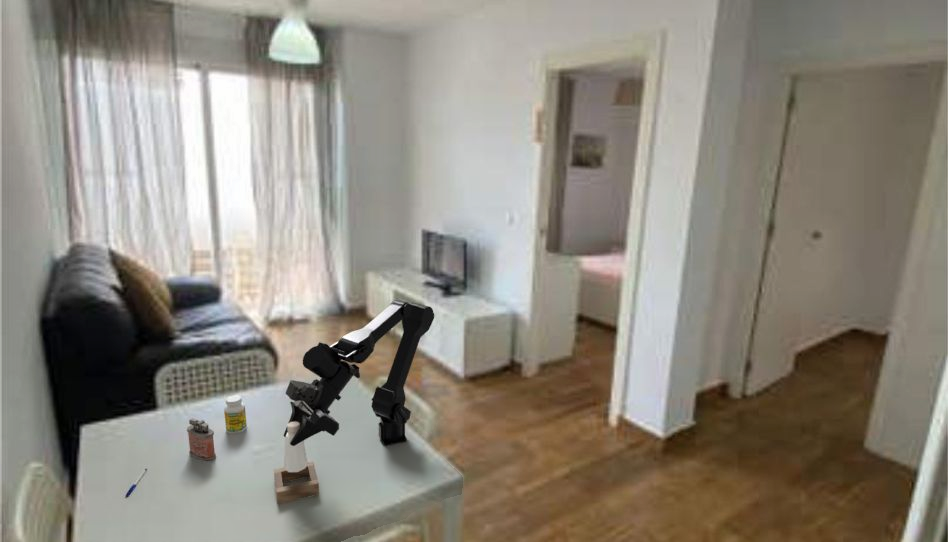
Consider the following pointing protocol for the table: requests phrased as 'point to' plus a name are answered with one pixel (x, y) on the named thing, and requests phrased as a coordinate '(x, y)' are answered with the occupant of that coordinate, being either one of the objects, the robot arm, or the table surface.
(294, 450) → the pepper shaker
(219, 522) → the table surface
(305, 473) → the socket block
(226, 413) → the supplement bottle
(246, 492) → the table surface
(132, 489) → the ballpoint pen
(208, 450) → the lighter
